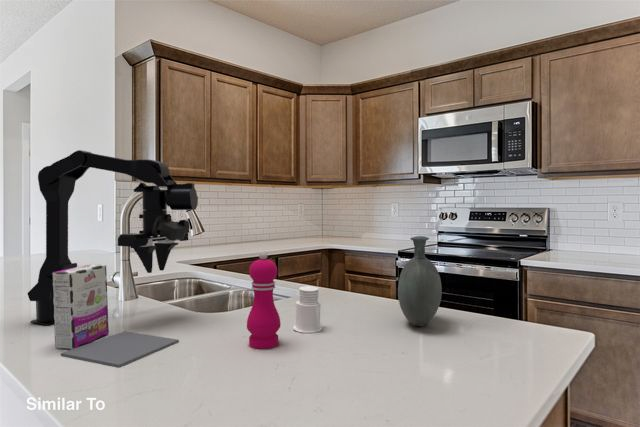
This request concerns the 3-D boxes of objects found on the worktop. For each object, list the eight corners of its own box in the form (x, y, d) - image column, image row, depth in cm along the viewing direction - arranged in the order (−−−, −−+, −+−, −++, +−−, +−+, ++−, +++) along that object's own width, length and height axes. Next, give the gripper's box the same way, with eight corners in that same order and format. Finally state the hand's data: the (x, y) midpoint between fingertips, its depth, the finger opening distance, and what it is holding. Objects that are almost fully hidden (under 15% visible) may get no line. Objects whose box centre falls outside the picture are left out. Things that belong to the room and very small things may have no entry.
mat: (60, 355, 88) (60, 353, 88) (125, 333, 103) (125, 331, 103) (119, 367, 82) (119, 364, 82) (178, 341, 97) (178, 339, 97)
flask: (384, 329, 105) (384, 238, 104) (408, 313, 120) (409, 233, 119) (432, 337, 99) (432, 240, 98) (451, 319, 114) (452, 234, 113)
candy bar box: (90, 333, 103) (89, 263, 103) (109, 334, 102) (108, 264, 102) (52, 349, 92) (50, 271, 92) (73, 350, 91) (71, 272, 91)
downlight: (286, 327, 107) (287, 287, 106) (307, 322, 112) (309, 283, 111) (307, 336, 101) (308, 294, 100) (329, 330, 106) (330, 289, 105)
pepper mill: (285, 340, 97) (285, 250, 97) (271, 351, 90) (271, 254, 90) (256, 337, 100) (255, 249, 99) (240, 347, 93) (239, 253, 92)
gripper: (151, 211, 100) (152, 280, 100) (204, 209, 117) (204, 268, 117) (115, 211, 104) (116, 276, 104) (171, 209, 121) (172, 265, 122)
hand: (155, 271), depth 112 cm, fingers open, 4 cm apart
